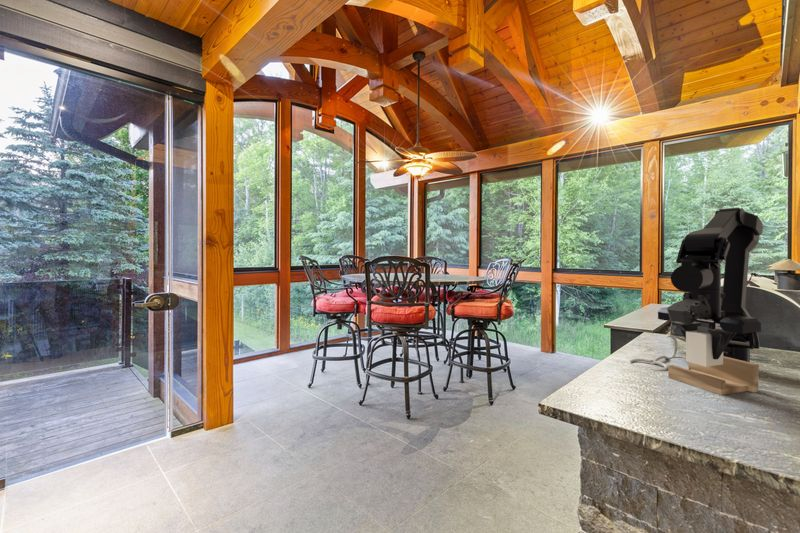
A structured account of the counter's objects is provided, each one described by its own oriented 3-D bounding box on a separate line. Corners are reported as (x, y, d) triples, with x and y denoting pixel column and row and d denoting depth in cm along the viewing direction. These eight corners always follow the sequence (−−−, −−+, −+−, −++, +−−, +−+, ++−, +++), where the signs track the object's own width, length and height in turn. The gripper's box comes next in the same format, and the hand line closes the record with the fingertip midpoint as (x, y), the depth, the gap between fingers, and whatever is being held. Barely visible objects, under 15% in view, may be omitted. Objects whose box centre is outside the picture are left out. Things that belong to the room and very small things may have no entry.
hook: (696, 359, 106) (662, 383, 96) (659, 352, 114) (624, 373, 104) (694, 334, 105) (659, 356, 95) (657, 329, 113) (621, 348, 103)
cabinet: (702, 359, 88) (702, 324, 88) (723, 364, 83) (723, 328, 83) (686, 361, 87) (685, 326, 86) (706, 366, 82) (706, 330, 82)
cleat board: (693, 372, 95) (693, 348, 94) (758, 391, 81) (758, 364, 81) (664, 376, 92) (664, 352, 92) (726, 396, 79) (726, 368, 79)
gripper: (639, 286, 91) (640, 349, 92) (721, 294, 73) (722, 372, 74) (675, 284, 94) (675, 345, 95) (763, 291, 76) (762, 366, 77)
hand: (704, 356), depth 85 cm, fingers closed on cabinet, 4 cm apart
